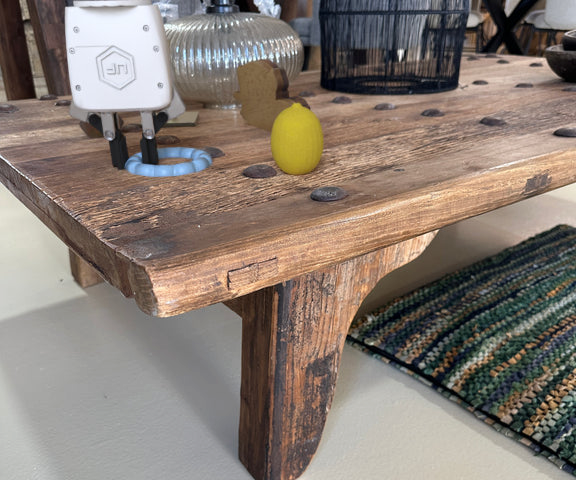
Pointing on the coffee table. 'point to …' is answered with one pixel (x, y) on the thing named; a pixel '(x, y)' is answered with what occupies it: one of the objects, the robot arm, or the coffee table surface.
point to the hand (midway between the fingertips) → (137, 171)
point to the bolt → (92, 131)
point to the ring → (199, 163)
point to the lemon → (297, 140)
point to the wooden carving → (264, 93)
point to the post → (183, 120)
